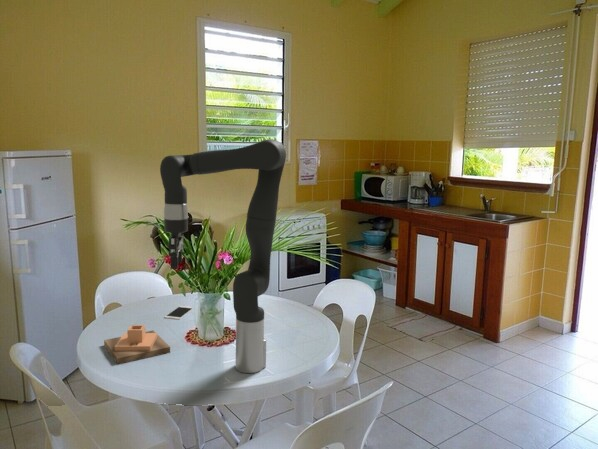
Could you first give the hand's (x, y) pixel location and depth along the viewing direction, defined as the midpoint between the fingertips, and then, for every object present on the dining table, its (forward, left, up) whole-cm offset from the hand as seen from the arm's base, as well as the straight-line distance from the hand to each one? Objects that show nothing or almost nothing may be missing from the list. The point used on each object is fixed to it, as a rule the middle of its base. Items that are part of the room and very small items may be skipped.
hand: (176, 265), depth 157 cm
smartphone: (-18, -44, -34) cm, 58 cm away
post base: (+9, -16, -33) cm, 38 cm away
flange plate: (+9, -16, -31) cm, 36 cm away
